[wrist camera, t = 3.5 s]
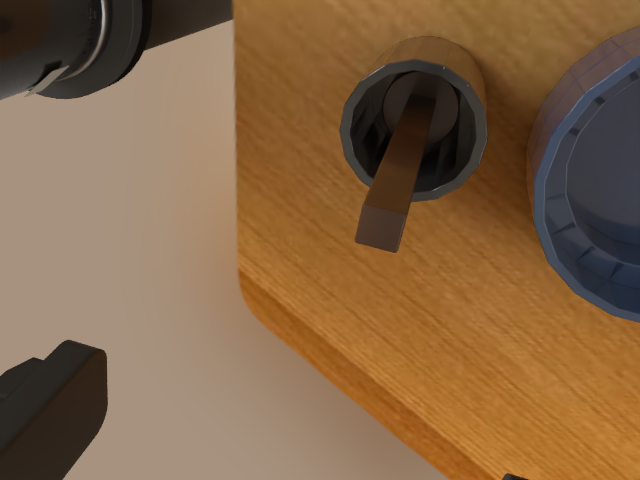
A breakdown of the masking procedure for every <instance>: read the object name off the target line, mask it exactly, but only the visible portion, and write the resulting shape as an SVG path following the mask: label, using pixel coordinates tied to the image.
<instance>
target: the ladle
mask: <svg viewBox="0 0 640 480" xmlns="http://www.w3.org/2000/svg"><path fill="white" fill-rule="evenodd" d="M460 101H461V97H460V90H458V89H457V88H456V87H454V86H453V85H451V84H450V83H449V82H447V81H446V80H444V79H443V78H442V77H440V76H437V75H432V74H428V73H423V72H419V71H410V72H404V73H399V74H397V75H396V77H395V78H394V79H393V81H392V82H391V84H390V86H389V87H388V89H387V91H386V93H385V95H384V98H383V103H382V114H383V119H384V122H385V124H386V126H387V128H388V129H389V131H390V132H391V133H392V134H393V135H392V138H391V140H390V142H389V145H388V147H387V149H386V152H385V154H384V156H383V159H382V161H381V163H380V166H379V168H378V170H377V173H376V175H375V177H374V180H373V182H372V184H371V187H370V189H369V191H368V194H367V196H366V198H365V201H364V203H363V206H362V210H361V214H360V219H359V223H358V228H357V232H356V237H355V242H356V243H359V244H363V245H367V246H370V247H374V248H378V249H382V250H386V251H389V252H393V253H397V251H398V249H399V245H400V241H401V237H402V234H403V230H404V226H405V222H406V219H407V215H408V211H409V207H410V203H411V199H412V195H413V191H414V187H415V183H416V179H417V176H418V172H419V168H420V164H421V160H422V156H423V152H424V148H425V146H427V145H431V144H434V143H437V142H439V141H441V140H442V139H444V138H445V137H446V136H447V135H448V134H449V133H450V132H451V131H452V129H453V128H454V126H455V125H456V123H457V120H458V116H459V111H460Z"/></svg>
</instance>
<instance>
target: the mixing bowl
mask: <svg viewBox="0 0 640 480" xmlns="http://www.w3.org/2000/svg"><path fill="white" fill-rule="evenodd" d="M526 185H527V190H528V196H529V201H530V206H531V212H532V217H533V222H534V226H535V229H536V232H537V234H538V237H539V240H540V242H541V245H542V248H543V250H544V253H545V256H546V259H547V261H548V263H549V264H550V265H551V266H552V267H553V269H554V270H555V271H556V272H557V273H558V274H559V276H560V277H561V278H562V279H563V280H564V281H565V282H566V284H567V285H568V286H569V287H570V288H571V289H572V291H573V292H574V293H576V294H577V295H579V296H581V297H582V298H584V299H586V300H587V301H589V302H591V303H592V304H594V305H596V306H597V307H599V308H601V309H602V310H604V311H606V312H607V313H609V314H611V315H613V316H616V317H620V318H624V319H628V320H631V321H635V322H639V323H640V26H637V27H635V28H632V29H630V30H627V31H625V32H622V33H620V34H617V35H615V36H613V37H610V38H609V39H607V40H606V41H604V42H603V43H602V44H600V45H599V46H598V47H597V48H595V49H594V50H593V51H591V52H590V53H589V54H587V55H586V56H585V57H583V58H582V59H581V60H579V61H578V62H577V63H576V64H574V65H573V66H572V67H570V69H568V70H567V71H566V73H565V74H564V75H563V77H562V78H561V79H560V81H559V82H558V83H557V85H556V86H555V87H554V89H553V90H552V91H551V93H550V94H549V95H548V97H547V98H546V99H545V101H544V102H543V103H542V105H541V107H540V109H539V112H538V114H537V117H536V120H535V123H534V126H533V129H532V131H531V134H530V137H529V140H528V143H527V147H526Z"/></svg>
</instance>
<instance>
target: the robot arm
mask: <svg viewBox="0 0 640 480" xmlns="http://www.w3.org/2000/svg"><path fill="white" fill-rule="evenodd" d="M111 26H112V1H111V0H0V100H2V99H4V98H7V97H10V96H13V95H16V94H19V93H22V92H24V91H27V90H31V89H32V90H31V91H30V92H29V93H28V94H27V95H26V96H29V95H31V94H34V93H37V92H40V91H42V90H43V89H45V88H46V87H47V86H48V85H49V84H50V83H51V82H55V81H61V80H65V79H68V78H71V77H74V76H76V75H79V74H81V73H83V72H84V71H86V70H88V69H89V68H90V67H91V66H93V65H94V64H95V63H96V61H97V60H98V59H99V58H100V56H101V55H102V53H103V51H104V49H105V47H106V45H107V43H108V40H109V36H110V32H111ZM26 96H25V97H26ZM107 405H108V397H107V356H106V353H105V351H104V350H101V349H98V348H95V347H91V346H88V345H85V344H81V343H78V342H75V341H72V340H66V341H64V342H62V343H61V344H60V345H59V346H58V347H57V348H56V349H55V350H54V351H53V352H52V353H51V354H50V355H49V356H48V357H47V358H45V360H41V359H37V358H34V357H33V358H31V359H29V360H27V361H25V362H23V363H21V364H19V365H17V366H15V367H13V368H11V369H9V370H7V371H6V372H5V373H4V374H2V375H1V376H0V480H62V479H63V478H64V477H65V475H66V474H67V473H68V471H69V470H70V469H71V468H72V466H73V465H74V464H75V462H76V461H77V460H78V458H79V457H80V456H81V455H82V453H83V452H84V451H85V449H86V448H87V447H88V445H89V444H90V443H91V442H92V440H93V439H94V438H95V436H96V435H97V433H98V432H99V430H100V428H101V426H102V424H103V421H104V419H105V416H106V412H107ZM502 480H528V479H525V478H522V477H519V476H515V475H512V474H509V473H507V474H506V475H505V476H504V477H503V479H502Z"/></svg>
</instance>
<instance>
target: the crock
mask: <svg viewBox="0 0 640 480" xmlns="http://www.w3.org/2000/svg"><path fill="white" fill-rule="evenodd" d="M410 71H419V72H423V73H428V74H432V75H437V76H440V77H442V78H443V79H444V80H446V81H447V82H449V83H450V84H451V85H453V86H454V87H456V88H457V89H458V90H460V97H461V101H460V111H459V116H458V120H457V123H456V125H455V126H454V128H453V129H452V131H451V132H450V133H449V134H448V135H447V136H446V137H445V138H444V139H442V140H441V141H439V142H437V143H434V144H431V145H427V146H425V148H424V152H423V156H422V160H421V164H420V168H419V172H418V176H417V179H416V183H415V187H414V191H413V195H412V199H411V202H417V201H426V200H435V199H438V198H440V197H442V196H444V195H446V194H448V193H450V192H451V191H453V190H455V189H457V188H459V187H460V186H462V185H463V184H464V182H465V181H466V180H467V179H468V178H469V177H470V175H471V174H472V173H473V172H474V171H475V170H476V168H477V167H478V166H479V164H480V162H481V159H482V155H483V152H484V149H485V146H486V143H487V140H488V125H487V101H486V92H485V82H484V77H483V75H482V73H481V71H480V69H479V67H478V65H477V63H476V62H475V60H474V59H473V58H472V56H471V55H470V54H469V53H468V52H467V51H466V50H464V49H463V48H462V47H460V46H459V45H457V44H456V43H454V42H451V41H449V40H447V39H443V38H440V37H433V36H420V37H414V38H410V39H406V40H404V41H402V42H399V43H398V44H396V45H394V46H392V47H391V48H390V49H388V50H387V51H386V52H385V53H383V54H382V55H381V56H380V57H379V58H378V59H377V61H376V62H375V63H374V64H373V66H372V67H371V68H370V69H369V71H368V72H367V73H366V74H365V76H364V77H363V78H362V79H361V80H360V82H359V83H358V85H357V86H356V88H355V89H354V91H353V92H352V94H351V95H350V97H349V98H348V100H347V101H346V103H345V105H344V110H343V115H342V120H341V125H340V137H341V141H342V146H343V151H344V156H345V158H346V160H347V162H348V163H349V165H350V166H351V168H352V169H353V171H354V172H355V174H356V175H357V177H358V178H359V180H361V181H362V182H363V183H365V184H366V185H367V186H369V187H371V184H372V182H373V180H374V177H375V175H376V173H377V170H378V168H379V166H380V163H381V161H382V159H383V156H384V154H385V152H386V149H387V147H388V145H389V142H390V140H391V138H392V135H393V134H392V133H391V132H390V131H389V129H388V128H387V126H386V124H385V122H384V119H383V114H382V103H383V98H384V95H385V93H386V91H387V89H388V87H389V86H390V84H391V82H392V81H393V79H394V78H395V77H396V75H397V74H399V73H404V72H410Z"/></svg>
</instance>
